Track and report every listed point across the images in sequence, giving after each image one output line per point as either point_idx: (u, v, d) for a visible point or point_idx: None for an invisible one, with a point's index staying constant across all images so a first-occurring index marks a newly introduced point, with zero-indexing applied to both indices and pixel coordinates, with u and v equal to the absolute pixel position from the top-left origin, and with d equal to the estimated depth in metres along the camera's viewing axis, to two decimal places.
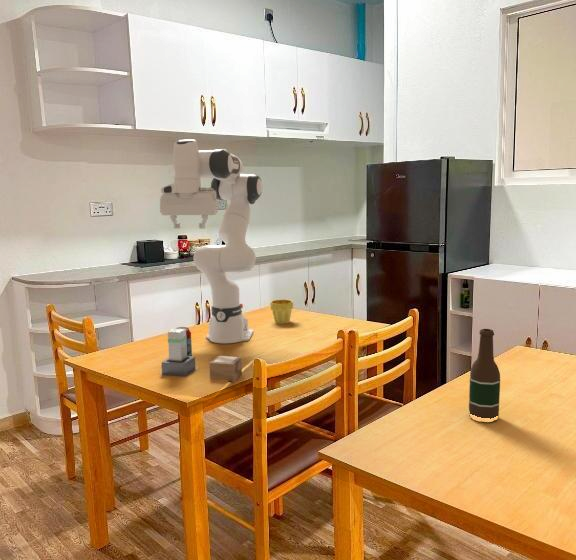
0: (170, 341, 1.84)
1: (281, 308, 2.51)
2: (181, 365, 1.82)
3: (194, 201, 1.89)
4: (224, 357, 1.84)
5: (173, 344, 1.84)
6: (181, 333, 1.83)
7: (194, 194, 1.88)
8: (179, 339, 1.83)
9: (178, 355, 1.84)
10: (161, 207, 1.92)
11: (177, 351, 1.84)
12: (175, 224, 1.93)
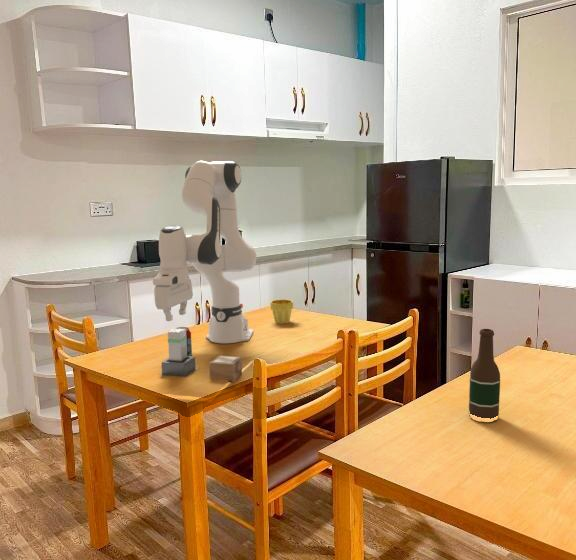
0: (170, 341, 1.84)
1: (281, 308, 2.51)
2: (181, 365, 1.82)
3: (183, 288, 1.85)
4: (224, 357, 1.84)
5: (173, 344, 1.84)
6: (181, 333, 1.83)
7: (183, 281, 1.85)
8: (179, 339, 1.83)
9: (178, 355, 1.84)
10: (167, 301, 1.74)
11: (177, 351, 1.84)
12: (171, 316, 1.79)
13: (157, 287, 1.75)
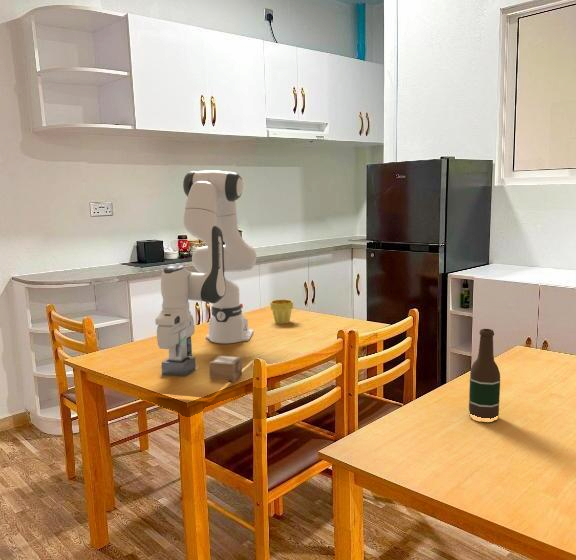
0: None
1: (281, 308, 2.51)
2: (181, 365, 1.82)
3: (185, 326, 1.87)
4: (224, 357, 1.84)
5: None
6: (181, 333, 1.83)
7: None
8: (179, 339, 1.83)
9: (178, 355, 1.84)
10: (169, 341, 1.76)
11: (177, 351, 1.84)
12: (176, 353, 1.83)
13: (159, 327, 1.77)
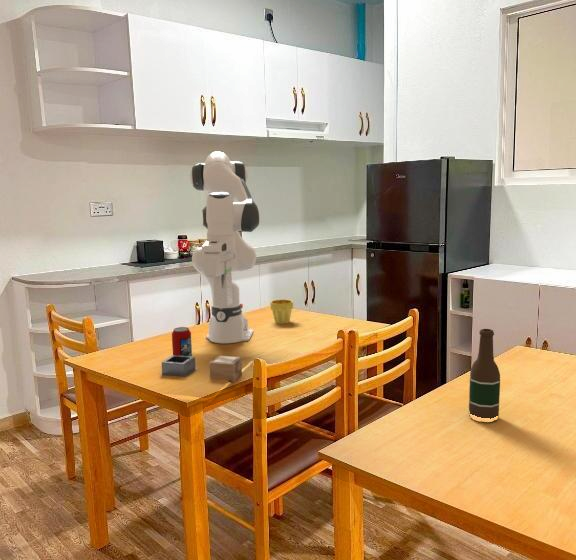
0: None
1: (281, 308, 2.51)
2: (181, 365, 1.82)
3: (229, 257, 1.79)
4: (224, 357, 1.84)
5: None
6: (227, 263, 1.75)
7: None
8: (225, 269, 1.75)
9: (223, 286, 1.76)
10: (216, 268, 1.68)
11: (222, 282, 1.75)
12: (221, 284, 1.75)
13: (206, 254, 1.68)
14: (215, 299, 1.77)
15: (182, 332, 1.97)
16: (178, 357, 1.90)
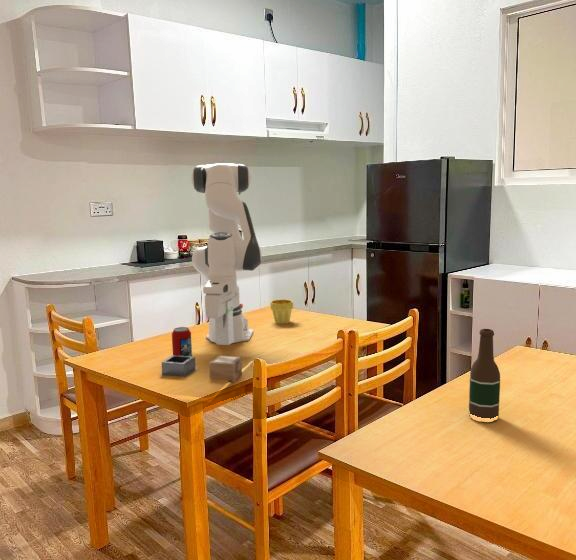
0: None
1: (281, 308, 2.51)
2: (181, 365, 1.82)
3: (231, 296, 1.81)
4: (224, 357, 1.84)
5: None
6: (228, 303, 1.77)
7: None
8: (226, 309, 1.77)
9: (225, 326, 1.78)
10: (218, 310, 1.70)
11: (224, 321, 1.77)
12: (223, 324, 1.77)
13: (208, 295, 1.70)
14: (217, 338, 1.79)
15: (182, 332, 1.97)
16: (178, 357, 1.90)
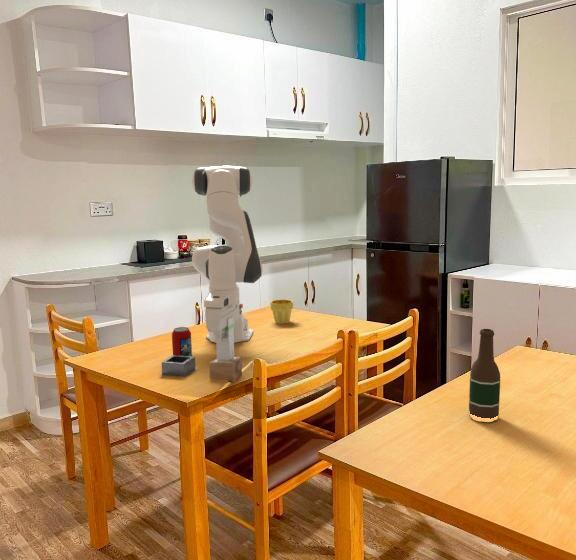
0: None
1: (281, 308, 2.51)
2: (181, 365, 1.82)
3: (231, 309, 1.82)
4: None
5: None
6: (229, 320, 1.78)
7: None
8: (227, 326, 1.78)
9: (226, 343, 1.79)
10: (218, 323, 1.70)
11: (225, 338, 1.79)
12: (221, 338, 1.76)
13: (208, 309, 1.71)
14: (217, 355, 1.80)
15: (182, 332, 1.97)
16: (178, 357, 1.90)
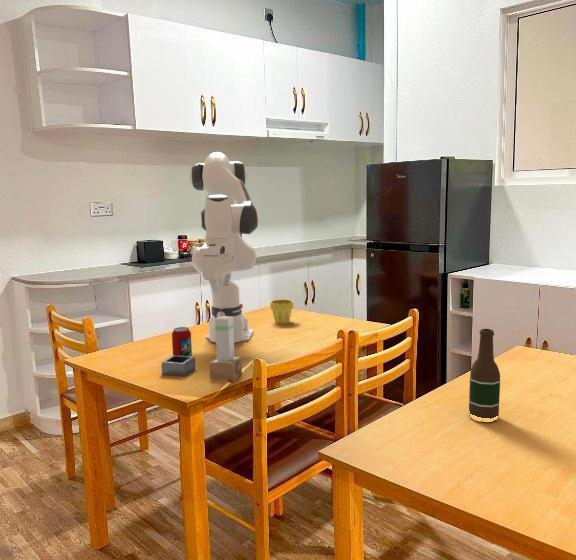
0: (217, 328, 1.79)
1: (281, 308, 2.51)
2: (181, 365, 1.82)
3: (228, 259, 1.80)
4: None
5: (220, 332, 1.79)
6: (229, 320, 1.78)
7: None
8: (227, 326, 1.78)
9: (226, 343, 1.79)
10: (215, 271, 1.69)
11: (225, 338, 1.79)
12: (217, 287, 1.74)
13: (204, 257, 1.69)
14: (217, 355, 1.80)
15: (182, 332, 1.97)
16: (178, 357, 1.90)
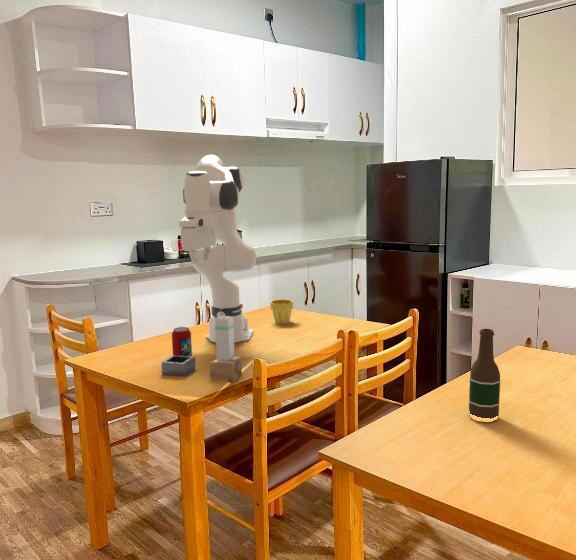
0: (217, 328, 1.79)
1: (281, 308, 2.51)
2: (181, 365, 1.82)
3: (207, 233, 1.88)
4: None
5: (220, 332, 1.79)
6: (229, 320, 1.78)
7: None
8: (227, 326, 1.78)
9: (226, 343, 1.79)
10: (193, 242, 1.77)
11: (225, 338, 1.79)
12: (196, 259, 1.82)
13: (183, 229, 1.78)
14: (217, 355, 1.80)
15: (182, 332, 1.97)
16: (178, 357, 1.90)
